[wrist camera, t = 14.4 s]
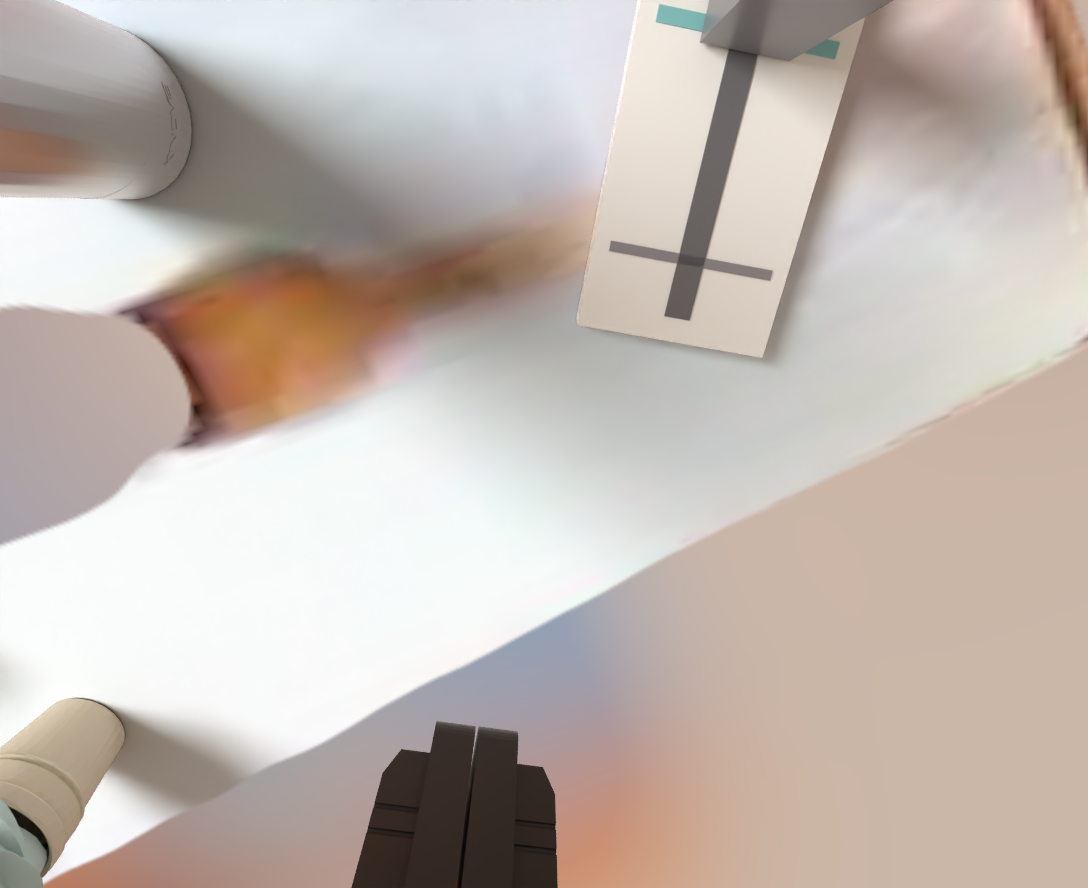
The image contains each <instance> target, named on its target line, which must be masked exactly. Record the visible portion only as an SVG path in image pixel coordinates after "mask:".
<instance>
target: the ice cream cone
mask: <svg viewBox="0 0 1088 888" xmlns="http://www.w3.org/2000/svg"><path fill="white" fill-rule="evenodd" d="M124 740H125V732H124V728H123V726H122V724H121V722H120V720H119V719H118V718H117V717H116V715H115V714H114V713H112V712H111V711H110V710H109V709H107V708H106V707H104V706H102V705H100V704H98V703H96V702H93V701H90V700H85V699H65V700H62V701H59V702H57V703H55V704H54V705H52V706H51V707H50V708H49V709H47V710H46V711H45V712H44V713H42V714H41V715H40V716H39V717H38V718H36V719H35V720H34V721H33V722H31V723H30V724H29V725H28V726H26V727H25V728H24V729H23V730H22V731H20V732H19V733H18V734H17V735H15V736H14V737H13V738H12V739H11V740H9V741H8V742H7V743H6V744H4V745H3V746H2V747H1V748H0V888H43V882H42V877H43V876H45V875H46V874H47V872H48V871H49V870H50V869H51V868H52V867H53V865H54V864H55V862H56V861H57V860H58V858H59V857H60V855H61V854H62V852H63V850H64V847H65V844H66V843H67V841H68V840H69V838H70V837H71V836H72V834H73V833H74V831H75V830H76V828H77V826H78V825H79V822H80V821H81V819H82V818H83V815H84V809H85V806H86V805H87V803H88V801H89V800H90V798H91V796H92V795H93V793H94V792H95V790H96V788H97V787H98V785H99V783H100V782H101V780H102V778H103V777H104V775H105V773H106V772H107V770H108V768H109V767H110V765H111V763H112V762H113V760H114V759H115V757H116V755H117V754H118V752H119V750H120V749H121V747H122V745H123V744H124Z"/></svg>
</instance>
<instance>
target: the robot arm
mask: <svg viewBox="0 0 1088 888" xmlns="http://www.w3.org/2000/svg"><path fill="white" fill-rule="evenodd" d="M191 135H192V127H191V118H190V111H189V108H188V104H187V101H186V98H185V95H184V92H183V90H182V88H181V86H180V84H179V82H178V80H177V78H176V76H175V75H174V73H173V72H172V70H171V69H170V68H169V66H168V65H167V64H166V62H165V61H164V60H163V58H162V57H161V56H160V55H158V54H157V53H156V52H155V51H154V50H153V49H152V48H151V47H150V46H149V45H148V44H147V43H145V42H144V41H142V40H141V39H139V38H138V37H136V36H135V35H133V34H131V33H129V32H127V31H125V30H122V29H120V28H118V27H115V26H113V25H111V24H108V23H106V22H104V21H101V20H99V19H97V18H94V17H92V16H90V15H87V14H85V13H83V12H81V11H79V10H77V9H74V8H72V7H70V6H67V5H65V4H62V3H60V2H58V1H55V0H0V197H35V198H80V199H141V198H144V197H148V196H152V195H155V194H156V193H158V192H160V191H162V190H163V189H165V188H167V187H168V186H169V185H170V184H171V183H172V182H173V181H174V180H175V179H176V178H177V177H178V175H179V174H180V172H181V170H182V169H183V167H184V165H185V164H186V160H187V157H188V154H189V151H190V147H191ZM474 737H475V726H470V725H462V724H454V723H447V722H439V721H437V722H436V727H435V732H434V737H433V742H432V747H431V752H430V753H426V752H418V751H410V750H403V749H401V751H400V752H399V753H398V755H397V756H396V757H395V758H394V759H393V761H392V762H391V763H390V764H389V766H388V767H387V768H386V770H385V771H384V772H383V774H382V778H381V782H380V785H379V789H378V792H377V796H376V800H375V805H374V808H373V811H372V815H371V818H370V822H369V826H368V830H367V833H366V836H365V840H364V844H363V848H362V851H361V855H360V859H359V862H358V866H357V870H356V873H355V877H354V881H353V884H352V888H557V855H556V830H555V825H556V814H555V793H554V791H553V789H552V787H551V785H550V782H549V780H548V778H547V776H546V773H545V771H544V769H543V767H537V766H529V765H522V764H517V754H518V752H517V751H518V732H517V731H509V730H501V729H493V728H486V727H479V728H478V733H477V738H476V743H475V749H474V754H473V746H474ZM472 754H473V759H472ZM471 762H472V765H471Z"/></svg>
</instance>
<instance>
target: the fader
mask: <svg viewBox="0 0 1088 888" xmlns="http://www.w3.org/2000/svg"><path fill="white" fill-rule="evenodd" d="M891 1H893V0H709V4H708V8H707V12H706V17H705V21H704V26H703V30H702V34H701V39H700V43H704V44H709V45H714V46H718V47H723V48H728V49H733V50H738V51H742V52H747V53H752V54H757V55H762V56H766V57H771V58H776V59H781V60H786V61H791V60H793V59H794V58H796V57H798V56H799V55H801V54H803V53H805V52H806V51H808V50H810V49H811V48H813V47H815V46H816V45H818V44H820V43H821V42H823V41H825V40H827V39H828V38H830V37H832V36H833V35H835V34H837V33H838V32H840V31H842V30H844V29H845V28H847V27H849V26H850V25H852V24H854V23H855V22H857V21H859V20H861V19H862V18H864V17H866V16H867V15H869V14H871V13H872V12H874V11H876V10H878V9H879V8H881V7H883V6H884V5H886V4H888V3H889V2H891Z"/></svg>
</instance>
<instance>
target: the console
mask: <svg viewBox="0 0 1088 888" xmlns="http://www.w3.org/2000/svg"><path fill="white" fill-rule="evenodd" d="M708 4H709V0H638V1H637V6H636V11H635V17H634V22H633V27H632V32H631V37H630V42H629V48H628V53H627V58H626V63H625V68H624V73H623V79H622V84H621V89H620V94H619V99H618V104H617V110H616V115H615V120H614V125H613V130H612V135H611V141H610V146H609V151H608V156H607V161H606V166H605V172H604V177H603V182H602V187H601V192H600V197H599V203H598V208H597V213H596V218H595V223H594V228H593V234H592V239H591V244H590V249H589V254H588V259H587V265H586V270H585V275H584V280H583V285H582V291H581V296H580V301H579V306H578V311H577V316H576V322H577V325H579V326H585V327H590V328H596V329H601V330H607V331H613V332H618V333H624V334H630V335H635V336H641V337H647V338H652V339H658V340H663V341H669V342H675V343H680V344H686V345H692V346H697V347H703V348H708V349H714V350H720V351H725V352H731V353H737V354H742V355H748V356H754V357H759V358H763V355H764V351H765V348H766V345H767V341H768V338H769V335H770V331H771V328H772V325H773V322H774V318H775V315H776V312H777V308H778V305H779V302H780V299H781V295H782V292H783V289H784V285H785V282H786V279H787V275H788V272H789V269H790V266H791V262H792V259H793V256H794V252H795V249H796V246H797V243H798V239H799V236H800V233H801V229H802V226H803V223H804V219H805V216H806V213H807V210H808V206H809V203H810V200H811V196H812V193H813V190H814V187H815V183H816V180H817V177H818V173H819V170H820V167H821V163H822V160H823V157H824V154H825V150H826V147H827V144H828V140H829V137H830V134H831V130H832V127H833V124H834V121H835V117H836V114H837V111H838V107H839V104H840V101H841V98H842V94H843V91H844V88H845V84H846V81H847V78H848V74H849V71H850V68H851V65H852V61H853V58H854V55H855V51H856V48H857V45H858V42H859V38H860V35H861V32H862V28H863V25H864V22H865V18H866V17H864V18H862V19H861V20H859V21H857V22H855V23H854V24H852V25H850V26H849V27H847V28H845V29H844V30H842V31H840V32H838V33H837V34H835V35H833V36H832V37H830V38H828V39H827V40H825V41H823V42H821V43H820V44H818V45H816V46H815V47H813V48H811V49H810V50H808V51H806V52H805V53H803V54H801V55H799V56H798V57H796V58H794V59H793V60H791V61H786V60H781V59H776V58H771V57H766V56H762V55H757V54H752V53H747V52H742V51H738V50H733V49H728V48H723V47H718V46H714V45H709V44H704V43H700V39H701V34H702V30H703V26H704V21H705V17H706V12H707V8H708Z"/></svg>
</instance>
